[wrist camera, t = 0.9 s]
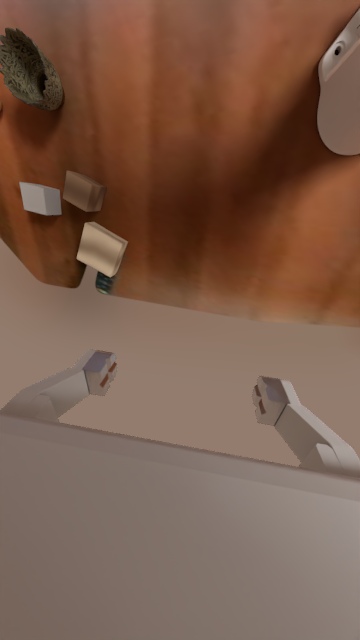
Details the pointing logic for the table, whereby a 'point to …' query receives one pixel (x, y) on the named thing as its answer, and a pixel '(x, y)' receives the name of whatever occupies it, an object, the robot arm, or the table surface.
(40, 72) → the cup
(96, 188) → the walnut block
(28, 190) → the grey painted cube
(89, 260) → the beech pedestal block
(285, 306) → the table surface
